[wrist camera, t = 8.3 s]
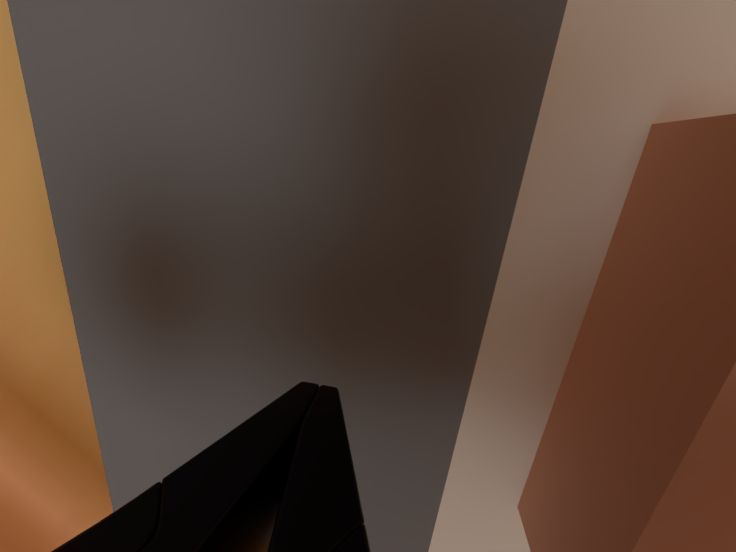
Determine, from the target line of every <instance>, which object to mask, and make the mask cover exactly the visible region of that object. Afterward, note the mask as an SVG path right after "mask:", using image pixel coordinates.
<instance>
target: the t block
mask: <svg viewBox="0 0 736 552" xmlns="http://www.w3.org/2000/svg"><path fill="white" fill-rule="evenodd" d="M517 507H518V511H519V514H520V517H521V521H522V524H523V527H524V531H525V534H526V538H527V541H528V544H529V548H530V551H531V552H736V114H728V115H720V116H712V117H704V118H696V119H689V120H681V121H673V122H665V123H657V124H652V126H651V128H650V131H649V134H648V137H647V140H646V143H645V145H644V148H643V151H642V154H641V157H640V160H639V162H638V165H637V168H636V171H635V174H634V177H633V180H632V182H631V185H630V188H629V191H628V194H627V197H626V199H625V202H624V205H623V208H622V211H621V214H620V216H619V219H618V222H617V225H616V228H615V231H614V234H613V236H612V239H611V242H610V245H609V248H608V251H607V253H606V256H605V259H604V262H603V265H602V268H601V270H600V273H599V276H598V279H597V282H596V285H595V287H594V290H593V293H592V296H591V299H590V302H589V305H588V307H587V310H586V313H585V316H584V319H583V322H582V324H581V327H580V330H579V333H578V336H577V339H576V341H575V344H574V347H573V350H572V353H571V356H570V358H569V361H568V364H567V367H566V370H565V373H564V376H563V378H562V381H561V384H560V387H559V390H558V393H557V395H556V398H555V401H554V404H553V407H552V410H551V412H550V415H549V418H548V421H547V424H546V427H545V429H544V432H543V435H542V438H541V441H540V444H539V447H538V449H537V452H536V455H535V458H534V461H533V464H532V466H531V469H530V472H529V475H528V478H527V481H526V483H525V486H524V489H523V492H522V495H521V498H520V500H519V503H518V506H517Z"/></svg>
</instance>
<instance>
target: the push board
mask: <svg viewBox="0 0 736 552" xmlns="http://www.w3.org/2000/svg"><path fill="white" fill-rule="evenodd" d="M7 1H8V6H9V11H10V16H11V21H12V26H13V30H14V35H15V40H16V45H17V50H18V54H19V59H20V64H21V69H22V74H23V79H24V83H25V88H26V93H27V98H28V103H29V107H30V112H31V117H32V122H33V127H34V131H35V136H36V141H37V146H38V151H39V156H40V160H41V165H42V170H43V175H44V180H45V184H46V189H47V194H48V199H49V204H50V209H51V213H52V218H53V223H54V228H55V233H56V237H57V242H58V247H59V252H60V257H61V262H62V266H63V271H64V276H65V281H66V286H67V290H68V295H69V300H70V305H71V310H72V314H73V319H74V324H75V329H76V334H77V339H78V343H79V348H80V353H81V358H82V363H83V367H84V372H85V377H86V382H87V387H88V392H89V396H90V401H91V406H92V411H93V416H94V420H95V425H96V430H97V435H98V440H99V444H100V449H101V454H102V459H103V464H104V469H105V473H106V478H107V483H108V488H109V493H110V497H111V502H112V507H113V512H115V511H116V510H118V509H119V508H121V507H122V506H124V505H125V504H126V503H128V502H129V501H131V500H132V499H134V498H135V497H137V496H138V495H140V494H141V493H143V492H144V491H145V490H147V489H148V488H150V487H151V486H153V485H154V484H155V483H157V482H161V483H162V479H163V478H164V477H166V476H167V475H169V474H170V473H171V472H173V471H174V470H176V469H177V468H179V467H180V466H181V465H183V464H184V463H186V462H187V461H189V460H190V459H191V458H193V457H194V456H196V455H197V454H199V453H200V452H201V451H203V450H204V449H206V448H207V447H209V446H210V445H211V444H213V443H214V442H216V441H217V440H218V439H220V438H221V437H223V436H224V435H226V434H227V433H228V432H230V431H231V430H233V429H234V428H236V427H237V426H238V425H240V424H241V423H243V422H244V421H246V420H247V419H248V418H250V417H251V416H253V415H254V414H256V413H257V412H258V411H260V410H261V409H263V408H264V407H266V406H267V405H268V404H270V403H271V402H273V401H274V400H276V399H277V398H278V397H280V396H281V395H283V394H284V393H286V392H287V391H288V390H290V389H291V388H293V387H294V386H296V385H297V384H298V383H300V382H302V381H304V382H310V383H316V384H318V385H319V387H320V386H321V385H327V386H332V387H337V388H338V390H339V394H340V399H341V404H342V409H343V415H344V420H345V425H346V430H347V435H348V440H349V445H350V450H351V455H352V460H353V465H354V470H355V475H356V480H357V485H358V491H359V496H360V501H361V506H362V511H363V516H364V521H365V523H364V525H365V526H366V530H367V535H368V540H369V545H370V550H371V552H531V551H530V548H529V544H528V541H527V538H526V534H525V531H524V527H523V524H522V521H521V517H520V514H519V511H518V507H517V506H518V503H519V500H520V498H521V495H522V492H523V489H524V486H525V483H526V481H527V478H528V475H529V472H530V469H531V466H532V464H533V461H534V458H535V455H536V452H537V449H538V447H539V444H540V441H541V438H542V435H543V432H544V429H545V427H546V424H547V421H548V418H549V415H550V412H551V410H552V407H553V404H554V401H555V398H556V395H557V393H558V390H559V387H560V384H561V381H562V378H563V376H564V373H565V370H566V367H567V364H568V361H569V358H570V356H571V353H572V350H573V347H574V344H575V341H576V339H577V336H578V333H579V330H580V327H581V324H582V322H583V319H584V316H585V313H586V310H587V307H588V305H589V302H590V299H591V296H592V293H593V290H594V287H595V285H596V282H597V279H598V276H599V273H600V270H601V268H602V265H603V262H604V259H605V256H606V253H607V251H608V248H609V245H610V242H611V239H612V236H613V234H614V231H615V228H616V225H617V222H618V219H619V216H620V214H621V211H622V208H623V205H624V202H625V199H626V197H627V194H628V191H629V188H630V185H631V182H632V180H633V177H634V174H635V171H636V168H637V165H638V162H639V160H640V157H641V154H642V151H643V148H644V145H645V143H646V140H647V137H648V134H649V131H650V128H651V126H652V124H657V123H665V122H673V121H681V120H689V119H696V118H704V117H712V116H720V115H728V114H736V0H7Z"/></svg>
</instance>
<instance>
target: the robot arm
mask: <svg viewBox="0 0 736 552" xmlns="http://www.w3.org/2000/svg"><path fill="white" fill-rule="evenodd" d="M364 523H365V521H364V516H363V511H362V506H361V501H360V496H359V491H358V485H357V480H356V475H355V470H354V465H353V460H352V455H351V450H350V445H349V440H348V435H347V430H346V425H345V420H344V415H343V409H342V404H341V399H340V394H339V390H338V388H337V387H332V386H327V385H321V386H320V387H319V385H318V384H316V383H310V382H304V381H302V382H300V383H298V384H297V385H296V386H294V387H293V388H291V389H290V390H288V391H287V392H286V393H284V394H283V395H281V396H280V397H278V398H277V399H276V400H274V401H273V402H271V403H270V404H268V405H267V406H266V407H264V408H263V409H261V410H260V411H258V412H257V413H256V414H254V415H253V416H251V417H250V418H248V419H247V420H246V421H244V422H243V423H241V424H240V425H238V426H237V427H236V428H234V429H233V430H231V431H230V432H228V433H227V434H226V435H224V436H223V437H221V438H220V439H218V440H217V441H216V442H214V443H213V444H211V445H210V446H209V447H207V448H206V449H204V450H203V451H201V452H200V453H199V454H197V455H196V456H194V457H193V458H191V459H190V460H189V461H187V462H186V463H184V464H183V465H181V466H180V467H179V468H177V469H176V470H174V471H173V472H171V473H170V474H169V475H167V476H166V477H164V478H163V479H162V483H161V482H157V483H155V484H154V485H153V486H151V487H150V488H148V489H147V490H145V491H144V492H143V493H141V494H140V495H138V496H137V497H135V498H134V499H132V500H131V501H129V502H128V503H126V504H125V505H124V506H122V507H121V508H119V509H118V510H116V511H115V512H113V513H112V514H110V515H109V516H107V517H106V518H104V519H103V520H101V521H100V522H98V523H97V524H95V525H93V526H92V527H90V528H89V529H87V530H85V531H84V532H82V533H81V534H79V535H77V536H76V537H74V538H72V539H71V540H69V541H68V542H66V543H64V544H63V545H61V546H60V547H58V548H56V549H55V550H53V551H52V552H371V550H370V545H369V540H368V535H367V530H366V526H365V525H364Z"/></svg>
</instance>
